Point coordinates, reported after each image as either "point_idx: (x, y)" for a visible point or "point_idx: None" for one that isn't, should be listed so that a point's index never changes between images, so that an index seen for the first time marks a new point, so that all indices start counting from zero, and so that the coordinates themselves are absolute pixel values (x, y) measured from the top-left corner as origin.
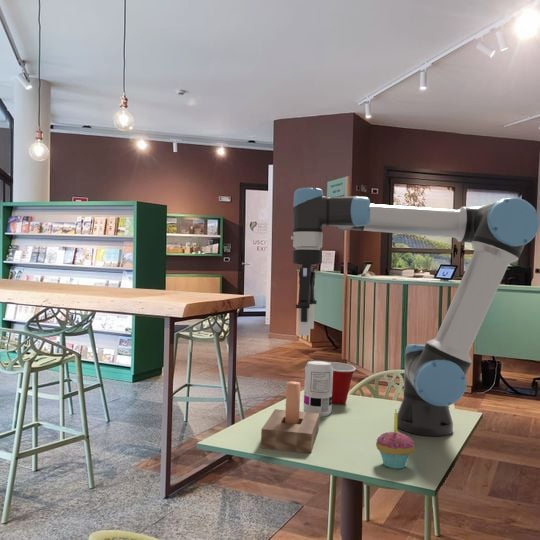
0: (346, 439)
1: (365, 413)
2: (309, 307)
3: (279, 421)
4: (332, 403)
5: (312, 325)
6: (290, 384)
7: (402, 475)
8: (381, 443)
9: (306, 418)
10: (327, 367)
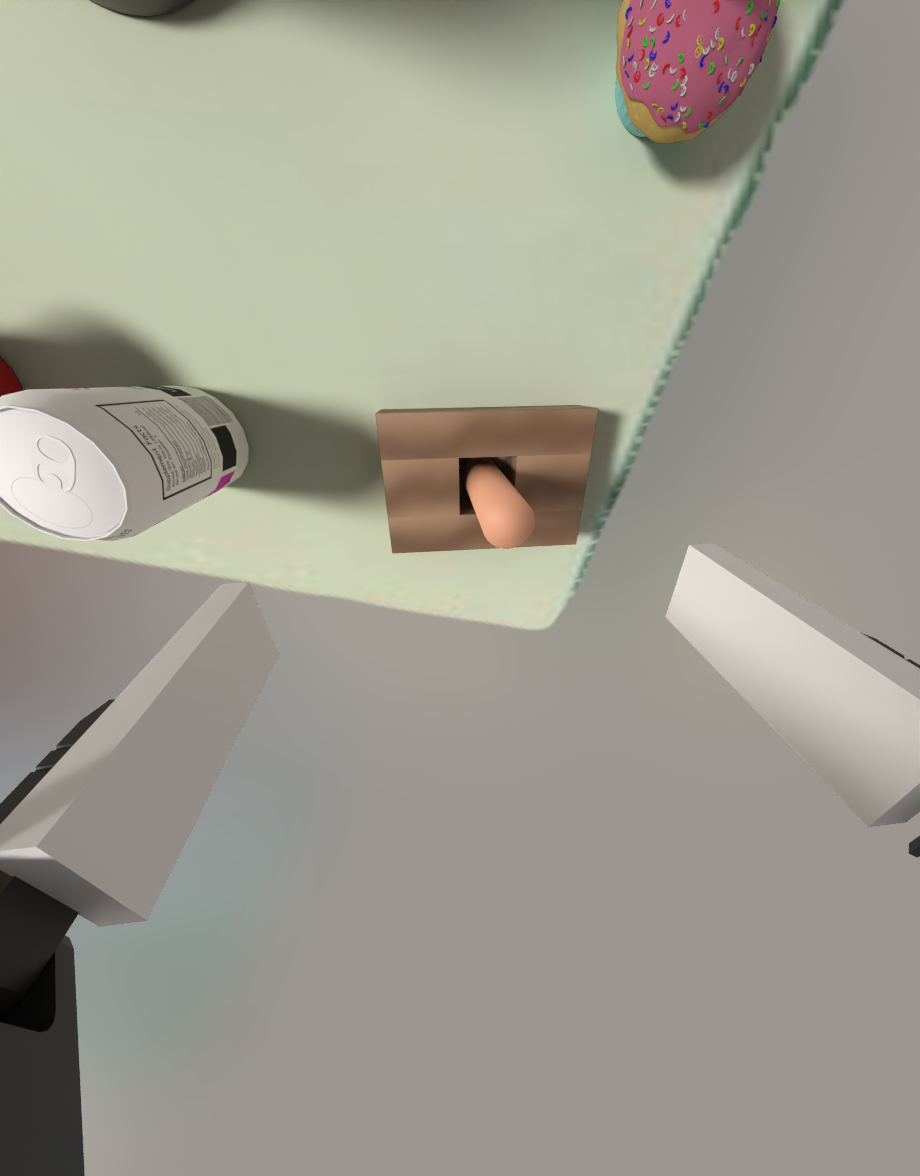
0: (438, 301)
1: (53, 220)
2: (130, 824)
3: None
4: None
5: (237, 609)
6: (532, 530)
7: None
8: (728, 102)
9: (451, 448)
10: (84, 421)
